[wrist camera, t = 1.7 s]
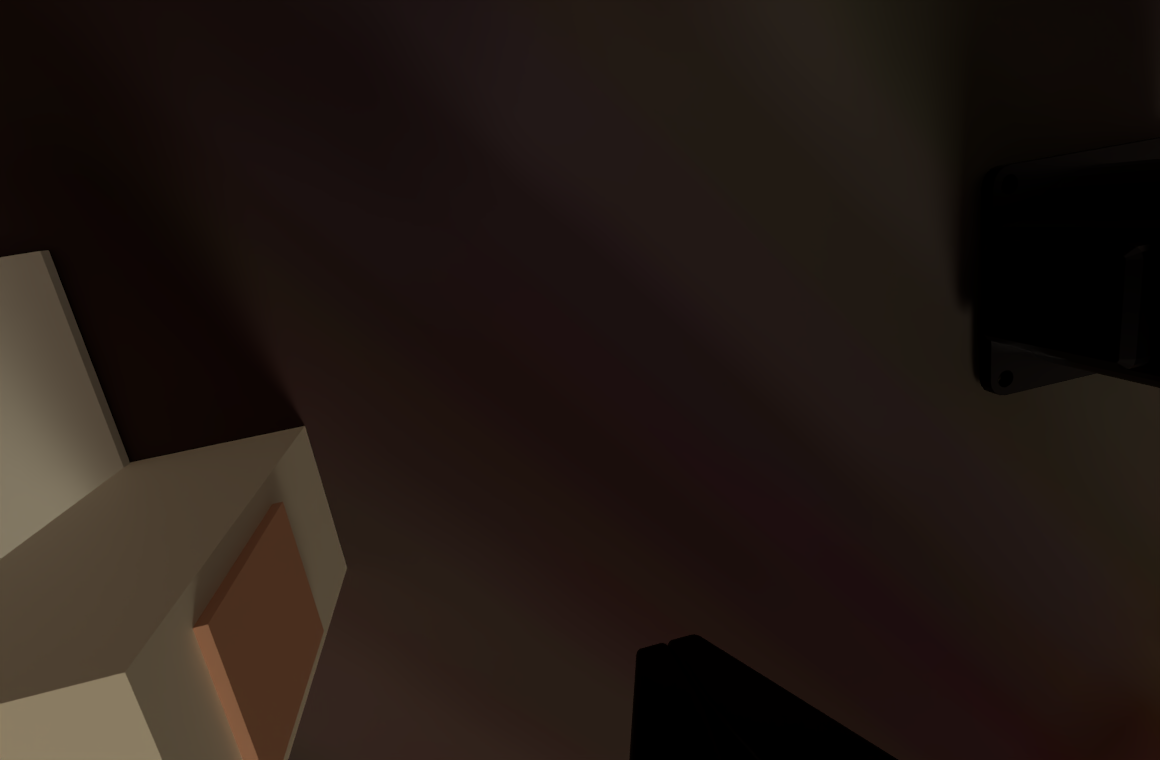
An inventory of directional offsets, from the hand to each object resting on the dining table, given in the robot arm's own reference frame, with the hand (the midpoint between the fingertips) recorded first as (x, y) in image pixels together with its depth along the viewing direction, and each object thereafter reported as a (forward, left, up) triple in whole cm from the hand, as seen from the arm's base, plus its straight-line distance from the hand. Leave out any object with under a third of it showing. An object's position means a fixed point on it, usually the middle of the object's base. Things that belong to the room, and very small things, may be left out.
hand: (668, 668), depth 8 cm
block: (+8, 0, -9) cm, 12 cm away
